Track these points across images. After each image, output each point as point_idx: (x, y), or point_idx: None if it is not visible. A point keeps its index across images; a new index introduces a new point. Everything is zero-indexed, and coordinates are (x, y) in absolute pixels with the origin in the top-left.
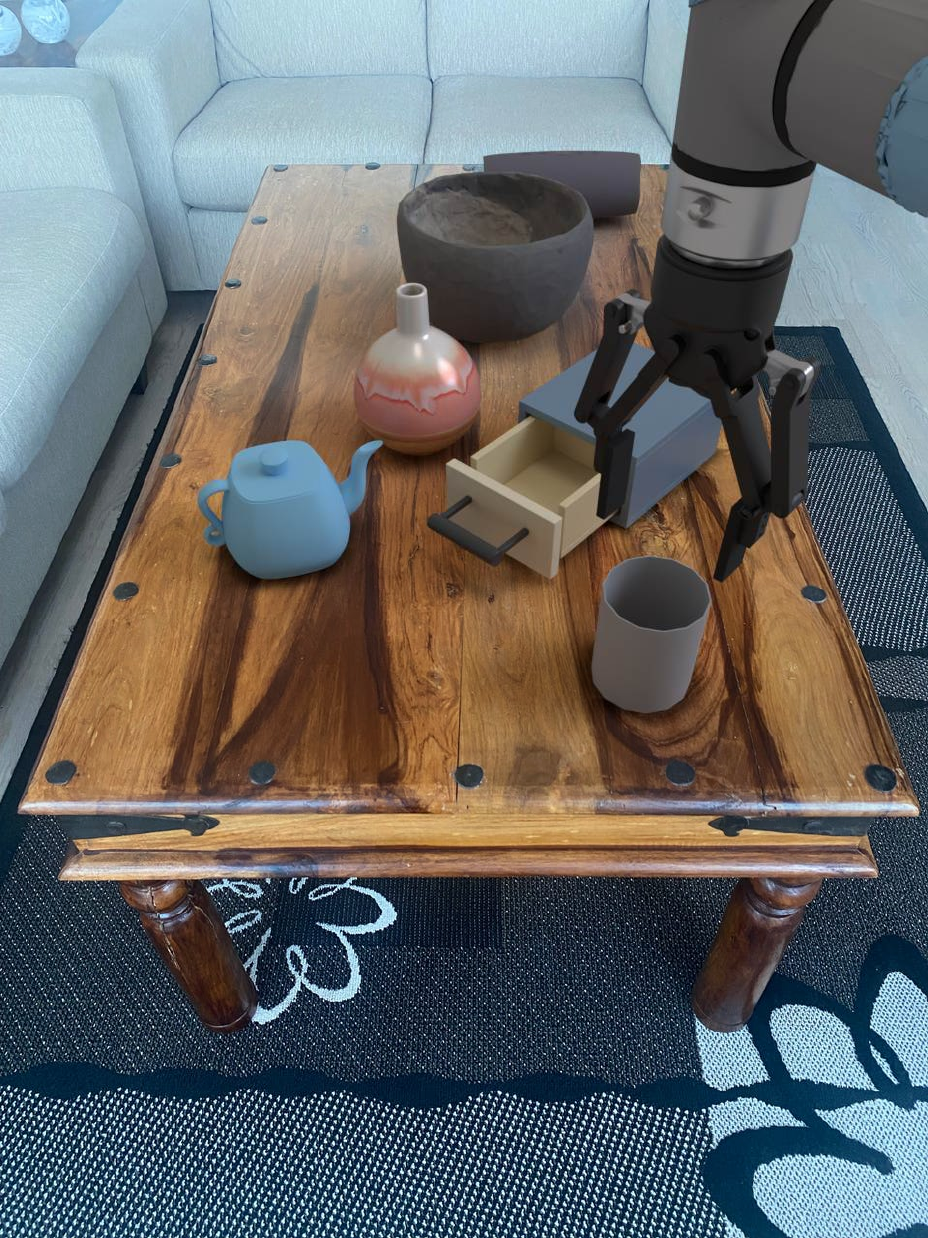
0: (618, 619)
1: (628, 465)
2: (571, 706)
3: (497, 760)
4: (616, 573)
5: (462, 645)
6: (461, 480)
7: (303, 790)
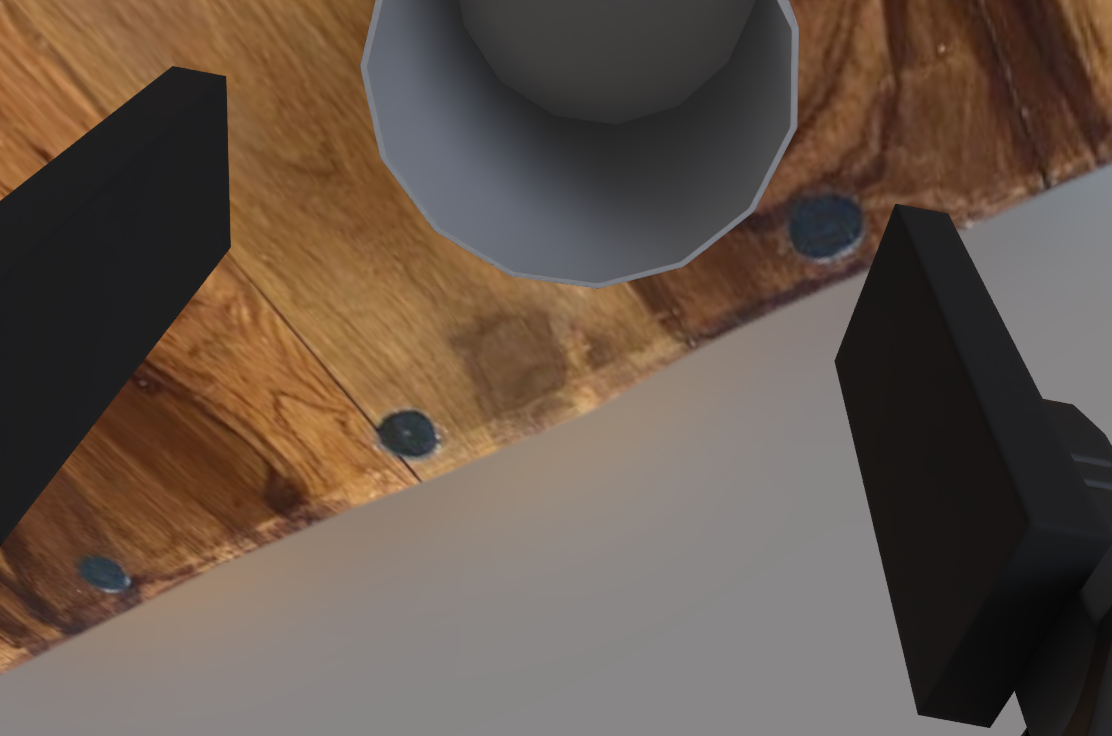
0: (517, 269)
1: (105, 215)
2: None
3: (434, 383)
4: (383, 26)
5: None
6: None
7: (187, 572)
